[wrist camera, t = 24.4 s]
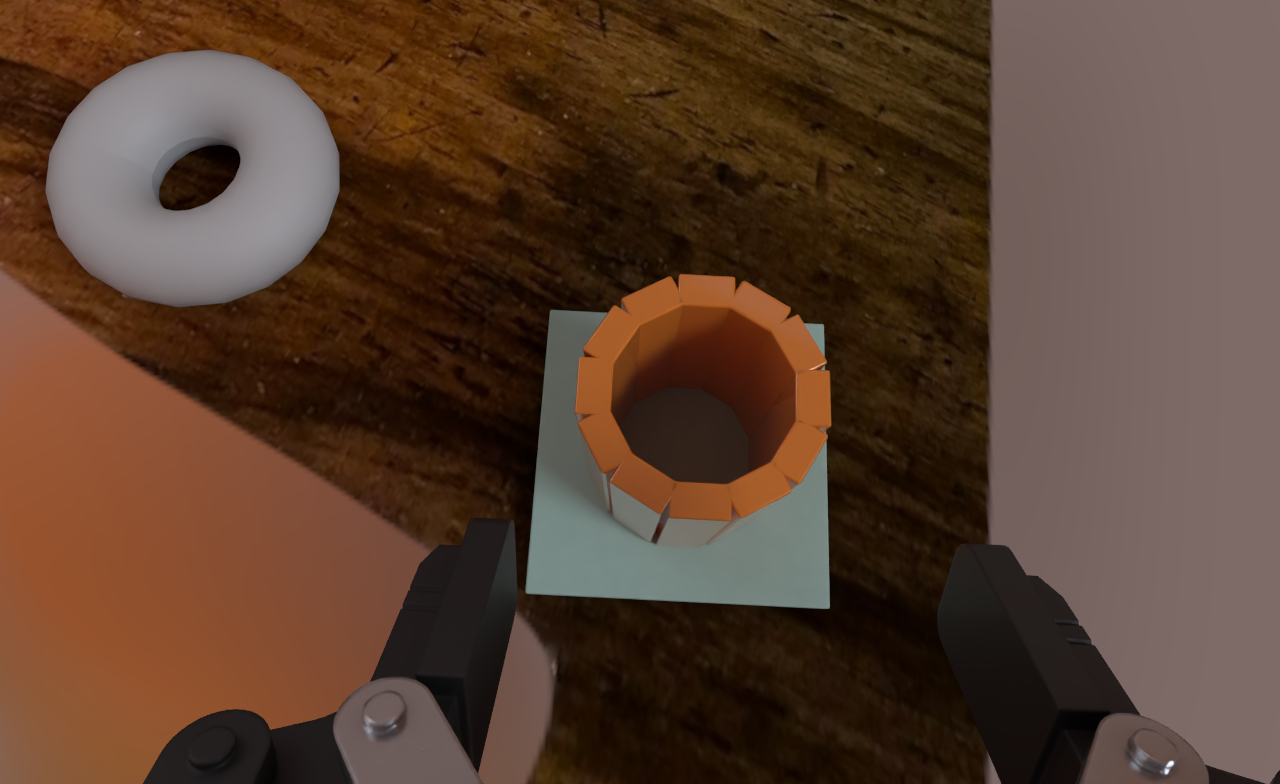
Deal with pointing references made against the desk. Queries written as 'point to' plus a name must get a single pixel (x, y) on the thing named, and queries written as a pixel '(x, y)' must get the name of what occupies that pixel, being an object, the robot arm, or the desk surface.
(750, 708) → the desk surface
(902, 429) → the desk surface
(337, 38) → the desk surface
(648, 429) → the mat
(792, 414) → the pen holder
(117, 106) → the donut
